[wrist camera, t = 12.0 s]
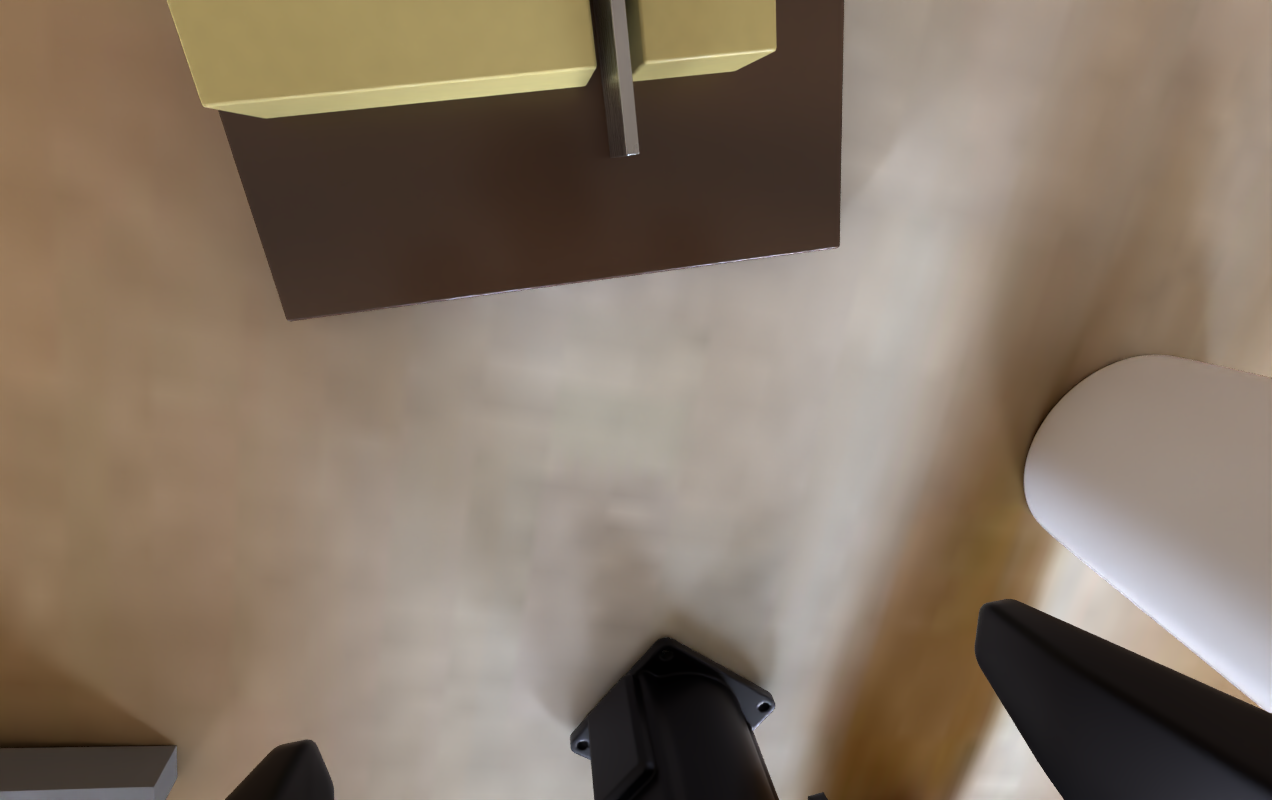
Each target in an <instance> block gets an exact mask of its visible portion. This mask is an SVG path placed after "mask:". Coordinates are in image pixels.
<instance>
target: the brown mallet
mask: <svg viewBox="0 0 1272 800" xmlns="http://www.w3.org/2000/svg"><path fill="white" fill-rule="evenodd" d="M593 8H594V17H595V26H596V35H597V43H598V52H599V61H600V70H601V79H602V88H603V97H604V105H605V114H606V123H607V132H608V141H609V150H610V157H611V158H615V157H623V156H630V155H638V154H639V153H640V151H639V140H638V130H637V120H636V109H635V99H634V88H633V78H632V68H631V57H630V47H629V36H628V26H627V16H626V5H625V0H593Z"/></svg>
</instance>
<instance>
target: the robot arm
mask: <svg viewBox="0 0 1272 800" xmlns="http://www.w3.org/2000/svg"><path fill="white" fill-rule="evenodd" d="M664 650H669V651H668V652H663V651H664ZM975 655H976V659H977V661H978V664H979V666H980V668H981V670H982V671H983V673H984V674H985V676H986V678H987V679H988V681H989V683H990V684H991V686H992V688H993V689H994V691H995V692H996V694H997V696H998V697H999V699H1000V701H1001V702H1002V704H1003V706H1004V707H1005V709H1006V710H1007V712H1008V714H1009V715H1010V717H1011V719H1012V720H1013V722H1014V723H1015V725H1016V727H1017V728H1018V730H1019V732H1020V733H1021V735H1022V737H1023V738H1024V740H1025V741H1026V743H1027V745H1028V746H1029V748H1030V750H1031V751H1032V753H1033V755H1034V756H1035V758H1036V759H1037V761H1038V762H1039V764H1040V765H1041V767H1042V769H1043V770H1044V772H1045V773H1046V775H1047V776H1048V778H1049V779H1050V780H1051V782H1052V783H1053V785H1054V786H1055V787H1056V789H1057V790H1058V792H1059V793H1060V795H1061V796H1062V797H1063V799H1064V800H1272V714H1271V713H1269V712H1267V711H1264V710H1262V709H1260V708H1258V707H1255V706H1253V705H1251V704H1249V703H1246V702H1244V701H1242V700H1240V699H1237V698H1235V697H1233V696H1231V695H1228V694H1226V693H1224V692H1222V691H1219V690H1217V689H1215V688H1213V687H1210V686H1208V685H1206V684H1204V683H1201V682H1199V681H1197V680H1195V679H1192V678H1190V677H1188V676H1186V675H1183V674H1181V673H1179V672H1177V671H1174V670H1172V669H1170V668H1168V667H1165V666H1163V665H1161V664H1159V663H1156V662H1154V661H1152V660H1150V659H1147V658H1145V657H1143V656H1141V655H1138V654H1136V653H1134V652H1132V651H1129V650H1127V649H1125V648H1123V647H1120V646H1118V645H1116V644H1114V643H1111V642H1109V641H1107V640H1105V639H1102V638H1100V637H1098V636H1096V635H1093V634H1091V633H1089V632H1087V631H1084V630H1082V629H1080V628H1078V627H1075V626H1073V625H1071V624H1069V623H1066V622H1064V621H1062V620H1060V619H1057V618H1055V617H1053V616H1051V615H1048V614H1046V613H1044V612H1042V611H1039V610H1037V609H1035V608H1033V607H1030V606H1028V605H1026V604H1024V603H1021V602H1019V601H1017V600H1013V599H1004V600H999V601H994V602H989V603H986V604H984V605H983V606H982V607H981V608H980V611H979V617H978V625H977V633H976V640H975ZM762 703H763V704H762ZM774 709H775V702H774V700H773V697H772V695H771V694H770V693H769V692H768V691H766V690H764V689H762V688H761V687H759V686H757V685H755V684H753V683H752V682H750V681H748V680H746V679H744V678H743V677H741V676H739V675H737V674H735V673H734V672H732V671H730V670H728V669H726V668H724V667H723V666H721V665H719V664H717V663H715V662H714V661H712V660H710V659H708V658H706V657H705V656H703V655H701V654H699V653H697V652H696V651H694V650H692V649H690V648H688V647H687V646H685V645H683V644H681V643H679V642H677V641H676V640H674V639H672V638H661V639H659V640H658V641H656V642H655V643H654V644H653V645H652V646H651V648H650V649H649V650H648V651H647V652H646V653H645V654H644V655H643V656H642V657H641V658H640V660H639V661H638V662H637V663H636V664H635V665H634V666H633V667H632V668H631V669H630V670H629V672H628V673H627V674H626V675H625V676H623V677H622V678H621V679H620V680H619V682H618V683H617V684H616V685H615V686H614V687H613V688H612V689H611V690H610V691H609V692H608V694H607V695H606V696H605V697H604V698H603V699H602V700H601V701H600V702H599V703H598V704H597V706H596V707H595V708H594V709H593V710H592V711H591V712H590V713H589V714H588V716H587V717H586V718H585V720H584V721H583V722H582V723H581V724H580V725H579V726H578V727H577V728H576V729H575V730H574V732H573V733H572V734H571V736H570V745H571V750H572V751H573V752H574V753H576V754H578V755H580V756H583V757H585V758H587V759H590V760H591V766H592V778H593V789H594V800H779V798H778V796H777V793H776V791H775V788H774V785H773V783H772V780H771V777H770V775H769V772H768V770H767V767H766V764H765V762H764V759H763V756H762V754H761V751H760V748H759V746H758V743H757V741H756V738H755V735H754V733H753V730H754V729H755V728H756V727H757V726H758V725H759V724H760V723H761V722H762V721H763V720H764V719H765V718H766V717H767V716H768V715H769V714H770V713H771V712H772V711H773V710H774ZM581 741H582V742H581ZM225 800H334V787H333V783H332V780H331V777H330V775H329V772H328V770H327V768H326V765H325V763H324V761H323V758H322V756H321V753H320V751H319V749H318V747H317V745H316V743H315V742H313V741H312V740H302V741H297V742H292V743H287V744H282V745H280V746H277V747H276V748H274V749H273V750H272V751H271V752H270V753H269V754H268V755H267V756H266V757H265V758H264V759H263V760H262V761H261V762H260V763H259V764H258V765H257V766H256V767H255V769H254V770H253V771H252V772H251V773H250V774H249V775H248V776H247V777H246V778H245V779H244V780H243V781H242V782H241V783H240V784H239V785H238V786H237V788H236V789H235V790H234V791H233V792H232V793H231V794H230V795H229V796H228V797H227V798H226V799H225ZM808 800H828V799H827V798H826V796H825V794H824V793H823V792H822V793H818V794H815V795H811V796H808Z"/></svg>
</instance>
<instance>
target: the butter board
mask: <svg viewBox="0 0 1272 800" xmlns="http://www.w3.org/2000/svg"><path fill="white" fill-rule="evenodd" d="M589 1H590V10H591V19H592V27H593V36H594V45H595V54H596V62H597V66H596V69H595V71H594V73H593V74H592V76H591V78H590V80H589V81H588V83H587V85H586V86H581V87H572V88H562V89H552V90H542V91H532V92H522V93H512V94H503V95H493V96H483V97H473V98H463V99H453V100H443V101H434V102H424V103H414V104H404V105H394V106H384V107H374V108H365V109H355V110H345V111H335V112H325V113H315V114H305V115H296V116H286V117H276V118H260V117H255V116H249V115H244V114H238V113H233V112H227V111H222V110H218V111H219V114H220V117H221V120H222V123H223V126H224V129H225V132H226V135H227V138H228V141H229V144H230V148H231V151H232V154H233V157H234V160H235V163H236V166H237V169H238V172H239V175H240V178H241V181H242V184H243V187H244V190H245V193H246V196H247V200H248V203H249V206H250V209H251V212H252V215H253V218H254V221H255V224H256V227H257V230H258V233H259V236H260V239H261V242H262V245H263V248H264V251H265V255H266V258H267V261H268V264H269V267H270V270H271V273H272V276H273V279H274V282H275V285H276V288H277V291H278V294H279V297H280V300H281V303H282V307H283V310H284V313H285V316H286V319H287V320H288V321H297V320H304V319H312V318H319V317H327V316H334V315H342V314H349V313H357V312H364V311H372V310H379V309H386V308H394V307H401V306H409V305H416V304H424V303H431V302H439V301H446V300H454V299H461V298H469V297H476V296H484V295H491V294H499V293H506V292H514V291H521V290H528V289H536V288H543V287H551V286H558V285H566V284H573V283H581V282H588V281H596V280H603V279H611V278H618V277H626V276H633V275H641V274H648V273H656V272H663V271H670V270H678V269H685V268H693V267H700V266H708V265H715V264H723V263H730V262H738V261H745V260H753V259H760V258H768V257H775V256H783V255H790V254H798V253H805V252H812V251H820V250H827V249H835V248H838V247H839V245H840V194H841V139H842V85H843V30H844V0H776V45H777V47H776V51H774V52H772V53H770V54H768V55H766V56H764V57H762V58H760V59H758V60H756V61H754V62H752V63H750V64H748V65H746V66H744V67H742V68H740V69H738V70H736V71H732V72H722V73H712V74H702V75H692V76H683V77H673V78H663V79H653V80H643V81H633V88H634V99H635V109H636V120H637V130H638V140H639V151H640V153H639V154H638V155H630V156H623V157H615V158H611V157H610V150H609V141H608V132H607V123H606V114H605V105H604V97H603V88H602V79H601V70H600V61H599V52H598V43H597V35H596V26H595V17H594V8H593V0H589Z"/></svg>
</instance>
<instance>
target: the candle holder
mask: <svg viewBox="0 0 1272 800" xmlns="http://www.w3.org/2000/svg"><path fill="white" fill-rule="evenodd" d="M1024 491H1025V497H1026V501H1027V504H1028V506H1029V509H1030V511H1031V513H1032V514H1033V516H1034V517H1035V519H1036V520H1037V521H1038V523H1039V524H1040V525H1041V526H1042V527H1043V528H1044V529H1045V530H1046V531H1047V532H1048V533H1049V534H1050V535H1051V536H1053V537H1054V538H1055V539H1056V540H1057V541H1058V542H1059V543H1061V544H1062V545H1063V546H1064V547H1065V548H1067V549H1068V550H1069V551H1070V552H1071V553H1073V554H1074V555H1075V556H1076V557H1077V558H1079V559H1080V560H1081V561H1082V562H1083V563H1085V564H1086V565H1087V566H1088V567H1089V568H1091V569H1092V570H1093V571H1094V572H1096V573H1097V574H1098V575H1099V576H1100V577H1102V578H1103V579H1104V580H1105V581H1106V582H1108V583H1109V584H1110V585H1111V586H1113V587H1114V588H1115V589H1116V590H1117V591H1119V592H1120V593H1121V594H1122V595H1124V596H1125V597H1126V598H1127V599H1128V600H1130V601H1131V602H1132V603H1133V604H1135V605H1136V606H1137V607H1138V608H1139V609H1141V610H1142V611H1143V612H1144V613H1146V614H1147V615H1148V616H1149V617H1150V618H1152V619H1153V620H1154V621H1155V622H1157V623H1158V624H1159V625H1160V626H1162V627H1163V628H1164V629H1165V630H1166V631H1168V632H1169V633H1170V634H1171V635H1173V636H1174V637H1175V638H1176V639H1177V640H1179V641H1180V642H1181V643H1182V644H1184V645H1185V646H1186V647H1187V648H1188V649H1190V650H1191V651H1192V652H1193V653H1195V654H1196V655H1197V656H1198V657H1199V658H1201V659H1202V660H1203V661H1204V662H1206V663H1207V664H1208V665H1209V666H1211V667H1212V668H1213V669H1214V670H1215V671H1217V672H1218V673H1219V674H1220V675H1222V676H1223V677H1224V678H1225V679H1226V680H1228V681H1229V682H1230V683H1231V684H1233V685H1234V686H1235V687H1236V688H1237V689H1239V690H1240V691H1241V692H1242V693H1244V694H1245V695H1246V696H1247V697H1248V698H1250V699H1251V700H1252V701H1253V702H1255V703H1256V704H1257V705H1258V706H1260V707H1261V708H1262V709H1263V710H1264V711H1267V712H1269V713H1271V714H1272V378H1271V377H1267V376H1263V375H1258V374H1254V373H1250V372H1245V371H1241V370H1237V369H1232V368H1228V367H1223V366H1219V365H1214V364H1210V363H1205V362H1201V361H1196V360H1191V359H1186V358H1181V357H1175V356H1168V355H1143V356H1137V357H1132V358H1128V359H1124V360H1121V361H1118V362H1115V363H1113V364H1110V365H1108V366H1106V367H1104V368H1102V369H1100V370H1098V371H1096V372H1095V373H1093V374H1091V375H1090V376H1088V377H1087V378H1085V379H1084V380H1082V381H1081V382H1080V383H1078V384H1077V385H1076V386H1075V387H1074V388H1072V389H1071V390H1070V391H1069V392H1068V393H1067V394H1066V395H1065V396H1064V397H1063V398H1062V399H1061V400H1060V401H1059V402H1058V403H1057V404H1056V405H1055V406H1054V408H1053V409H1052V410H1051V411H1050V413H1049V414H1048V415H1047V417H1046V418H1045V420H1044V421H1043V423H1042V424H1041V426H1040V428H1039V429H1038V431H1037V433H1036V435H1035V437H1034V439H1033V442H1032V444H1031V446H1030V449H1029V452H1028V455H1027V459H1026V464H1025V470H1024Z"/></svg>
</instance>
